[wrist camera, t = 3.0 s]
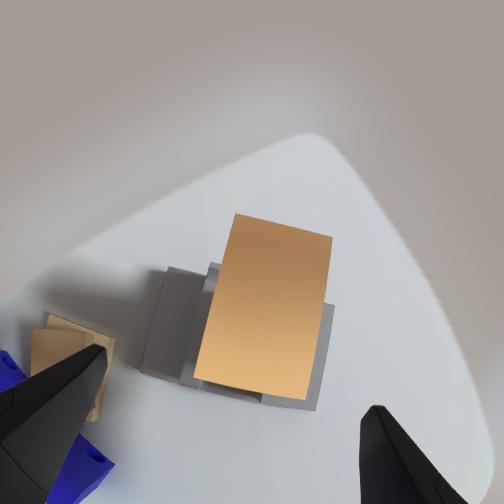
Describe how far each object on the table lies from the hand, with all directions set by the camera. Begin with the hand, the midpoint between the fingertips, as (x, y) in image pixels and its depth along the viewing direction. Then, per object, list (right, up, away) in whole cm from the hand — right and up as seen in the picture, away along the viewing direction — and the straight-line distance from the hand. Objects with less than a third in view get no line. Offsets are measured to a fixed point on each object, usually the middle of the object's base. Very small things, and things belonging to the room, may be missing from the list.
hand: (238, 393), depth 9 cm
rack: (0, -1, +11) cm, 11 cm away
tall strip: (0, -1, +9) cm, 9 cm away
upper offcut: (-12, -3, +7) cm, 14 cm away
